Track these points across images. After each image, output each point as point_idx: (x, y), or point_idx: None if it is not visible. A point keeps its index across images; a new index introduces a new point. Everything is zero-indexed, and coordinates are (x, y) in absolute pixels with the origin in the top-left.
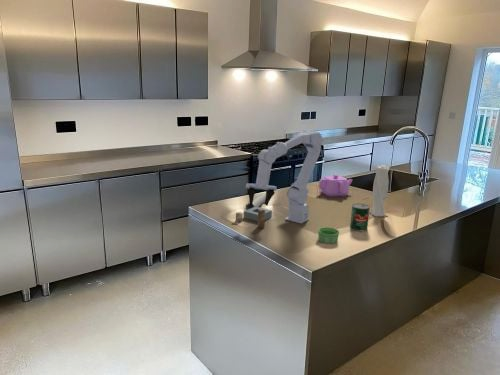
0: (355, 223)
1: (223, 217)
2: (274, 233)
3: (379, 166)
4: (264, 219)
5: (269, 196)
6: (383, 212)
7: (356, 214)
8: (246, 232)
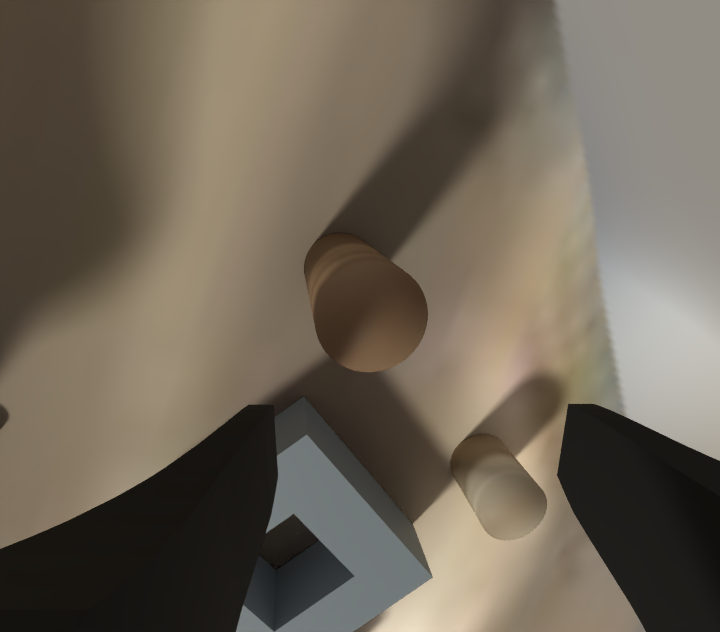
0: None
1: (564, 550)
2: (255, 42)
3: None
4: (320, 259)
5: (173, 512)
6: None
7: None
8: (529, 166)
